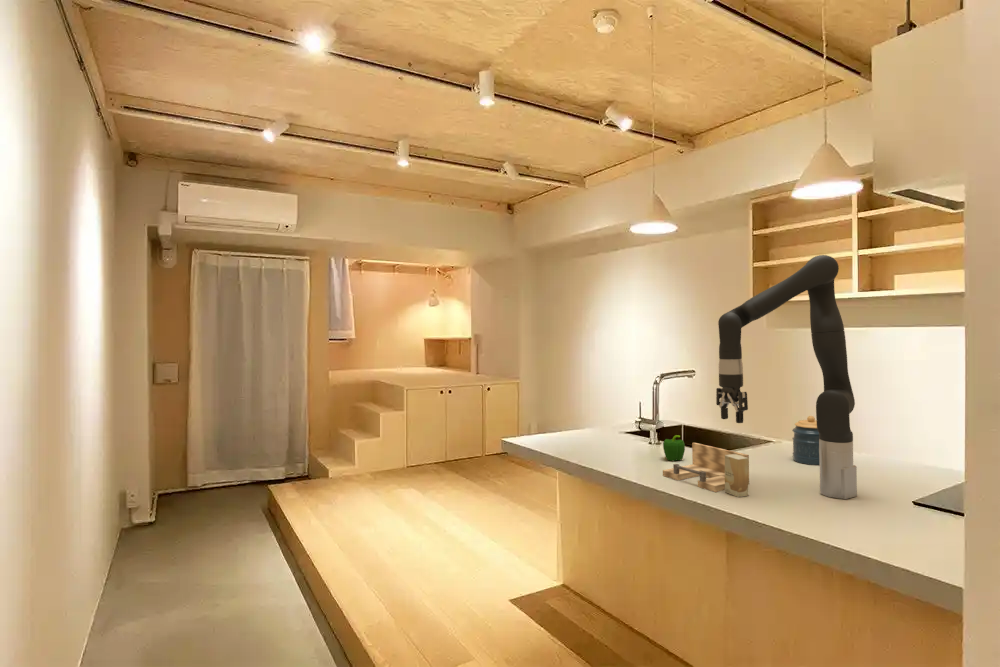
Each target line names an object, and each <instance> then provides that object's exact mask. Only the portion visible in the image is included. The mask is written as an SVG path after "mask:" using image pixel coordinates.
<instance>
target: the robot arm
mask: <svg viewBox="0 0 1000 667" xmlns="http://www.w3.org/2000/svg"><path fill="white" fill-rule="evenodd" d="M839 266H840V265H839V263H838V261H837V260H836V259H835V258H834V257H832V256H830V255H827V254H825V255H824V254H822V255H820V254H819V255H816V256H813V257H812V258H810V259H809V260H808V261H807V262H806V263H805V265H802V267H801V268H800V269H798V270H797V271H796V272H794V273H793V274H792V275H790V276H789V277H787V278H785V279H783V280H782V281H780V282H779V283H776V284H774V285H772V286H770V287H768V288H767V289H765V290H762V291H761V292H760V293H758V294H755V295H754V296H753V297H751V298H749V299H748V300H746V301H744V302H743V303H742V304H740V305H739V306H737V307H735V308H733V309H731V310H729V311H727V312H725V313H723V314H722V315H721V316H720V317H719V318H718V322H717V325H718V336H719V338H718V339H719V344H718V345H719V346H718V359H719V360H718V385H719V387H717V388H716V392H715V393H716V394H715V395H716V396H715V401H716V402H715V403H716V406H719V408H720V419H721V420H727V419H728V418H729V408H728V406H729V405H730V404H731V406H732V407H733V408H734V409H735V422H736V424H743V423H744V412H745V411H748V409H749V404H748V402H749V401H748V392H747V391H741V388H743V387H744V366H743V355H742V354H743V353H742V343H741V342H742V328H744V327H746V326H747V325H749V324H751V322H754V321H756V320H759V319H761V318H763V317H764V316H766V315H768V314H770V313H772V312H773V311H775V310H776V309H778V308H780V307H781V306H782V305H784V304H786V303H787V302H789V301H790V300H792V299H794V298H795V297H797V296H798V295H801V294H802V293H804V292H806V291H807V295H808V299H809V300H808V301H809V319H810V321H809V323H810V335H811V344H812V347H813V352H814V355H815V357H816V360H817V362H818V364H819V367H820V370H821V373H822V378H823V379H822V380H823V392H821V393H820V394H819V395H818V396H817V398H816V402H815V414H816V415H815V417H816V419H815V420H817V430H818V432H819V462H820V465H819V492H820V494H821V495H823V496H825V497H829V498H833V499H836V498H837V499H842V500H848V499H851V498H855V497H858V483H857V482H858V476H857V475H858V474H857V472H858V471H857V469H858V468H857V465H855V464H854V433H853V431H852V430H851V423H850V422H851V421H850V420H851V419H850V414H851V413H852V412H853V410H854V408H855V404H856V402H855V397H854V392H853V389H852V388H853V387H852V384H851V379H850V375H849V367H848V366H849V365H848V353H847V352H848V351H847V342H846V340H847V339H846V334H845V333H846V332H845V326H844V322H843V319H842V315H841V312H840V308H838V307H839V306H838V304H837V300H836V296H835V295H836V293H835V279H836V277H838V274H839V270H840V268H839Z"/></svg>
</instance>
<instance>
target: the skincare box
mask: <svg viewBox="0 0 1000 667" xmlns="http://www.w3.org/2000/svg"><path fill="white" fill-rule="evenodd" d="M748 459H750V457H749V458H746V457H743V456H740V455H737V454H730V455H725V490H724V493H727V494H729V495H731V496H735V497H737V498H742V497H746V496H749V485H748Z"/></svg>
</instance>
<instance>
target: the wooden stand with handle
mask: <svg viewBox="0 0 1000 667" xmlns="http://www.w3.org/2000/svg"><path fill="white" fill-rule="evenodd" d="M691 447H692V448H691V450H692V451H691V454H692V464H687V465H683V466H682V465H680V464H679V463H674V464H673V466H672V467H671V468H667V469H662V476H663V477H667V478H670V479H672V480H676V481H681V480H683V481H684V480H687V479H692V478H696V477H699V480H697V487H699V488H701V489H705V490H707V491H711V492H714V493H717V492H722V491H725V455H730V454H737V455H740V456H743V457H746V458H749V459H750V456H749V454H746V453H741V452H738V451H733V450H730V449H729V450H727V449H725V448H720V447H715V446H711V445H706V444H702V443H698V442H692V444H691ZM749 459H748V486H749V485H750V460H749Z"/></svg>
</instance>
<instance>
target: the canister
mask: <svg viewBox="0 0 1000 667" xmlns="http://www.w3.org/2000/svg"><path fill="white" fill-rule="evenodd" d="M794 426H795V427H794V428H792V429H791V430H792V432H793V437H792V457H793V461H795V462H797V463H799V464H803V465H811V466H812V465H815V466H820V462H819V432H818V430H817V420H816V419H815V416H814V415H808V416H807V418H806V419H801V420H798V421H797V422H795V423H794Z"/></svg>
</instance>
